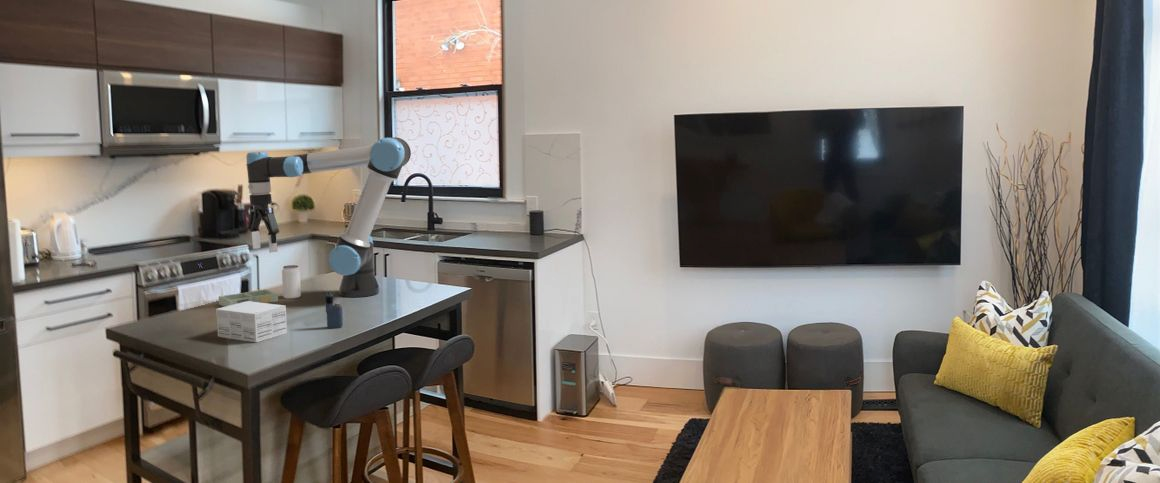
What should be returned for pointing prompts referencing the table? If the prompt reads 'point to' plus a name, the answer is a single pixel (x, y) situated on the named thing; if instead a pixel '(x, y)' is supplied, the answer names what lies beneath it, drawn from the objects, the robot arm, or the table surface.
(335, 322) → the vaping device
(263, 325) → the supplement box
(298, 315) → the table surface
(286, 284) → the can
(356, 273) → the robot arm
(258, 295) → the socket board
